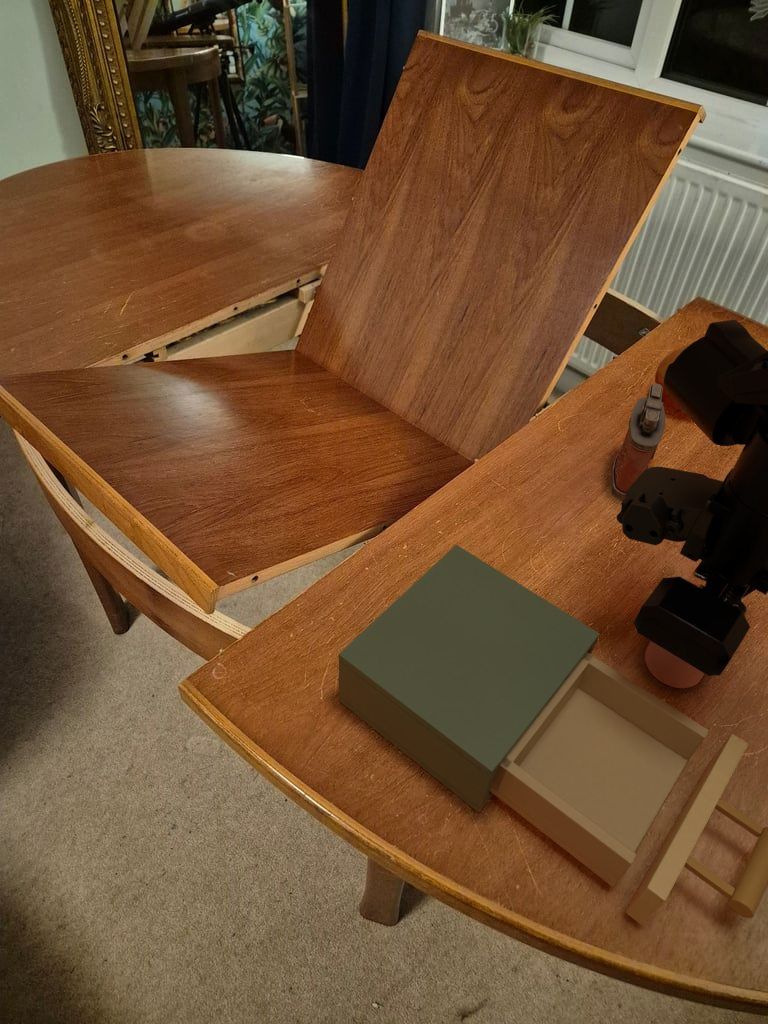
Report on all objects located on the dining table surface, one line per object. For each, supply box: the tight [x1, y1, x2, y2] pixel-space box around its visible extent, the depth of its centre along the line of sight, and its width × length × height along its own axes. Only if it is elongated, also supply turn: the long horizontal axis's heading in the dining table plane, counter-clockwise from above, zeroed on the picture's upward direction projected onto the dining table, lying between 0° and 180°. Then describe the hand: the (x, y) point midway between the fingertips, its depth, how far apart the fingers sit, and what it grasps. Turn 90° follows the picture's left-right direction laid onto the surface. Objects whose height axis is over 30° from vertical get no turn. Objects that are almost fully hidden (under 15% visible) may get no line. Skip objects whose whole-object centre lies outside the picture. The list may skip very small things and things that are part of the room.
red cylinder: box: [644, 640, 705, 689], centre depth 60 cm, size 5×5×7 cm
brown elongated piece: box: [610, 383, 666, 502], centre depth 76 cm, size 8×3×10 cm, turn 161°
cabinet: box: [338, 544, 600, 813], centre depth 58 cm, size 14×15×7 cm
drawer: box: [489, 653, 768, 926], centre depth 51 cm, size 17×13×5 cm
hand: (692, 632), depth 59 cm, fingers closed on red cylinder, 5 cm apart
